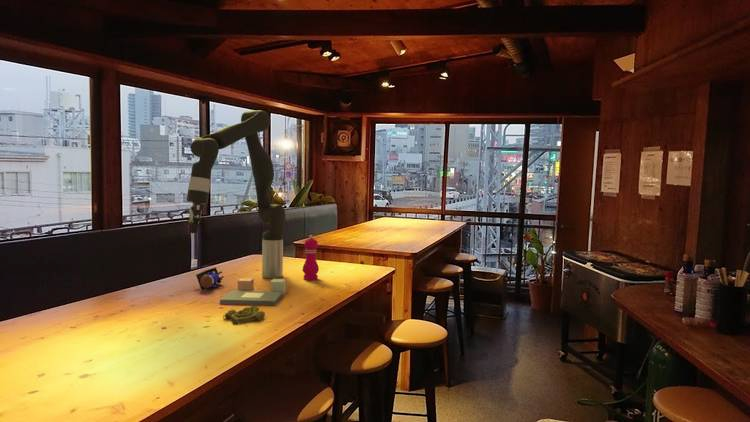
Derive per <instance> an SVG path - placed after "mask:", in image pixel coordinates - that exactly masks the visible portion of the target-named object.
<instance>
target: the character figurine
mask: <svg viewBox="0 0 750 422" xmlns="http://www.w3.org/2000/svg"><path fill="white" fill-rule="evenodd" d="M220 274H223V271H218V270H217V267H213V268H210V269H206V270H204V271H202V272H200V273H197V274H195V276H196V279H197V281H198V285H199V287H200V290H201V291H205V290H207V289H209V288H211V287H213V288H217V285H218V284H220V283H222V281H223V279H224V275H222V276H220Z"/></svg>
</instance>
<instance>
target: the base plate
mask: <svg viewBox="0 0 750 422" xmlns="http://www.w3.org/2000/svg"><path fill="white" fill-rule="evenodd" d="M283 296H284V294H283V292H276V291H270V290H253V291H240V290H238V289H237V290H235V289H234V290H233V289H232V290H231V291H229V292H228V293H226V294H225V295H224V296H222V297H221V298H220V299H219V304H220V305H244V306H246V305H249V306H250V305H251V306H276V305H277V304H278V302H279V301H280V300H281V299H282V297H283Z"/></svg>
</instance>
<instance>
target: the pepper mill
mask: <svg viewBox="0 0 750 422" xmlns="http://www.w3.org/2000/svg"><path fill="white" fill-rule="evenodd" d="M308 237H309V238H307V239H306V240H305V241H304V242H303V243H304V244H303V246H304V248H305V254H306V255H305V256H306V257H305V261H304V263H303V266H302V272H303V273H304V274H303V280H304V281H317V280H318V273H319V271H320V270H319V267H320V266H319V265H318V262H317V259H316V253H317V248H318V245H319V243H318V241H317V239H315V238H314V236H313V235H312V234H311V235H309V236H308Z"/></svg>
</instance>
